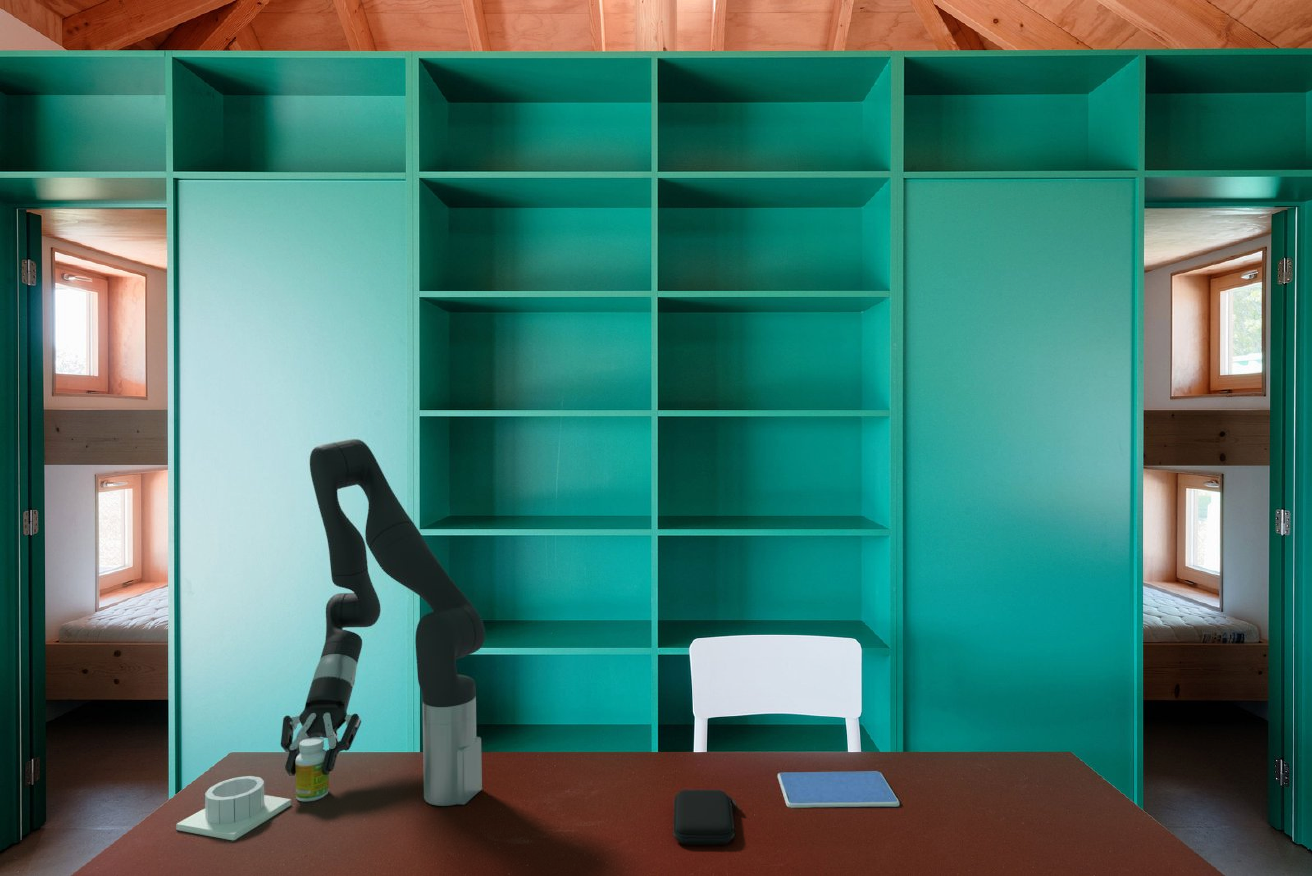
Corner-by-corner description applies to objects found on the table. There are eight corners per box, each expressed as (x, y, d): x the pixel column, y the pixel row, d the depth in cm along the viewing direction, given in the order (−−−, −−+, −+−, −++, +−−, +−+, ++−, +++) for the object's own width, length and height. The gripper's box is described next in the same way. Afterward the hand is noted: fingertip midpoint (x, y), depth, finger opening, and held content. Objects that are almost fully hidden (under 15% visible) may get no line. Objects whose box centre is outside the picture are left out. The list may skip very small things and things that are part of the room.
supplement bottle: (316, 803, 132) (315, 748, 132) (289, 801, 133) (288, 746, 133) (335, 789, 137) (334, 736, 137) (309, 787, 138) (308, 734, 138)
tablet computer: (787, 811, 128) (787, 803, 128) (776, 777, 140) (776, 770, 140) (901, 810, 128) (901, 802, 128) (880, 776, 140) (880, 769, 140)
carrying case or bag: (742, 850, 116) (735, 803, 130) (742, 830, 116) (735, 786, 130) (673, 849, 116) (674, 803, 131) (672, 830, 116) (674, 785, 131)
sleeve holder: (291, 805, 131) (290, 776, 131) (233, 840, 120) (233, 809, 120) (237, 796, 135) (236, 768, 135) (176, 829, 123) (176, 799, 123)
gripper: (288, 675, 142) (259, 767, 130) (365, 673, 143) (343, 764, 131) (300, 694, 147) (273, 783, 135) (375, 692, 148) (354, 780, 136)
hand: (308, 773), depth 133 cm, fingers closed on supplement bottle, 5 cm apart
